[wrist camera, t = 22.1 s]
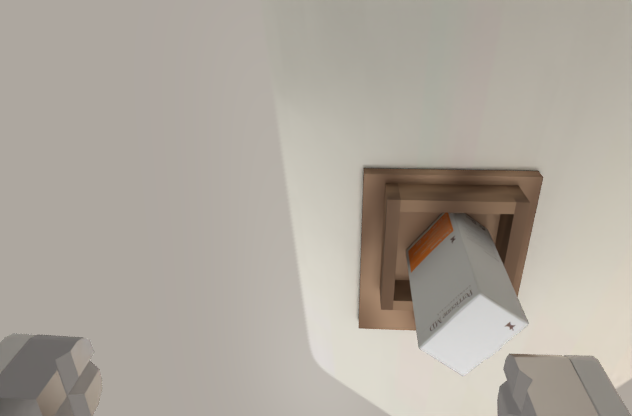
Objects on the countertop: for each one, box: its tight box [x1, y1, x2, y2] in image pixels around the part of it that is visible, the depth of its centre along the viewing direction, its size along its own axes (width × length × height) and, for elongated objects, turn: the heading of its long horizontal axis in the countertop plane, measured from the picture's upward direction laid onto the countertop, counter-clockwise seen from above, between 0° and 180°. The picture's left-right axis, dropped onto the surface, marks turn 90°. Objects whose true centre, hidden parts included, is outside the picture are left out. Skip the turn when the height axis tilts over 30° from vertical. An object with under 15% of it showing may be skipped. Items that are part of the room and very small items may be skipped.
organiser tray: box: [359, 168, 543, 330], centre depth 43 cm, size 14×16×4 cm
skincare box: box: [406, 213, 529, 376], centre depth 37 cm, size 6×4×12 cm
